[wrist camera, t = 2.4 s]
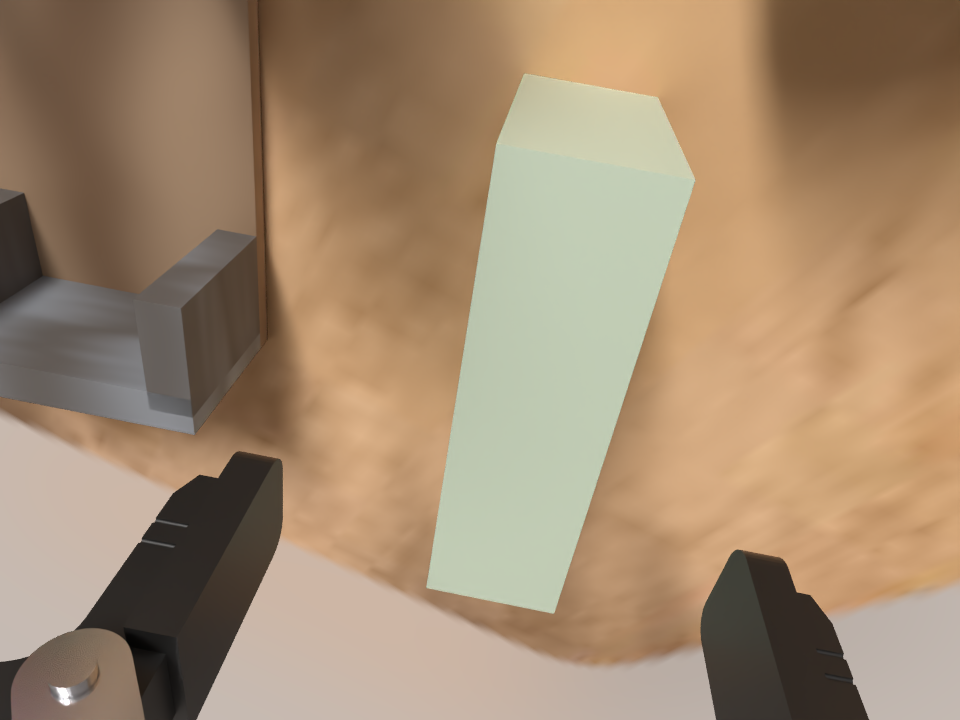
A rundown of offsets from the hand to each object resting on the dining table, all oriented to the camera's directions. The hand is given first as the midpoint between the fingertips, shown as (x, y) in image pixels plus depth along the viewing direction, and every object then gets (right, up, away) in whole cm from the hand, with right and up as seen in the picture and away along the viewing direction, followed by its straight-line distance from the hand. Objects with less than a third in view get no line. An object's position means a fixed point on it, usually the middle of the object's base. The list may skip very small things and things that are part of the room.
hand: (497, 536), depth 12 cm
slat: (+2, +5, +9) cm, 11 cm away
